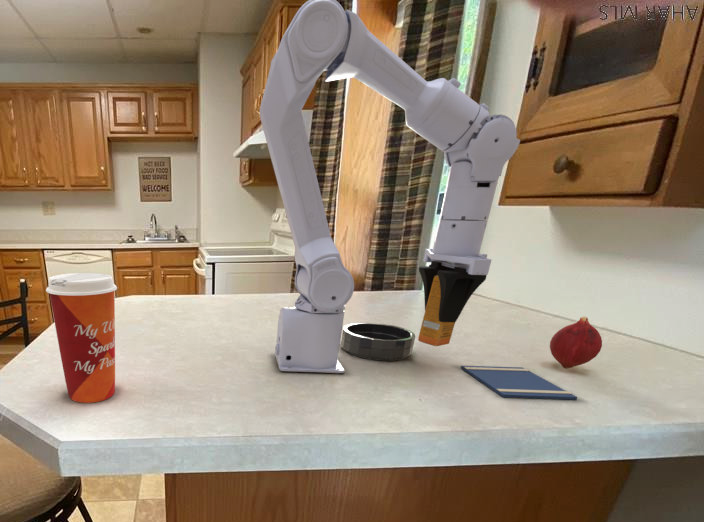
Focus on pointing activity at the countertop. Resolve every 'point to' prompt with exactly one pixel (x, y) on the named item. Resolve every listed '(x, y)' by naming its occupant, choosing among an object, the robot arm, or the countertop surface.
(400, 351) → the pan
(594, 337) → the onion
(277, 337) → the robot arm
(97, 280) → the coffee cup
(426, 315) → the supplement box
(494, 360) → the countertop surface
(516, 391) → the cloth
